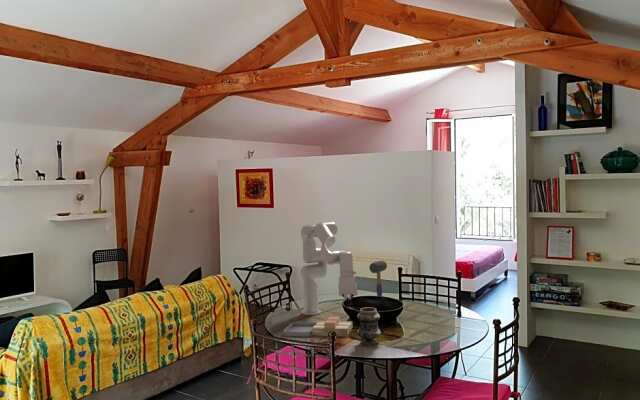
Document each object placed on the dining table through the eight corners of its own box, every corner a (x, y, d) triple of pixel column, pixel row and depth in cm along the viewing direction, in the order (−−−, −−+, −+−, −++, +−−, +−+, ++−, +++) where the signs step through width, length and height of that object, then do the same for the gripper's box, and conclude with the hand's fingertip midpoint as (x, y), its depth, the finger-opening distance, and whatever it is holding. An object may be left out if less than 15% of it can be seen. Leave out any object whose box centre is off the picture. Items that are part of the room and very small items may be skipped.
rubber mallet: (379, 308, 335) (377, 263, 334) (370, 306, 339) (368, 262, 338) (389, 303, 344) (387, 260, 343) (380, 302, 349) (378, 259, 348)
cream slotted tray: (319, 327, 296) (318, 320, 296) (352, 328, 291) (352, 321, 291) (312, 335, 282) (311, 328, 282) (347, 336, 277) (347, 329, 277)
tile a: (330, 321, 294) (329, 316, 293) (340, 321, 292) (339, 316, 292) (327, 324, 288) (327, 319, 288) (337, 324, 286) (337, 319, 286)
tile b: (327, 325, 287) (326, 319, 287) (337, 325, 285) (337, 320, 285) (324, 328, 281) (324, 322, 281) (335, 328, 279) (334, 323, 279)
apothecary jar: (378, 347, 255) (376, 312, 255) (355, 346, 259) (353, 311, 259) (383, 340, 267) (381, 306, 266) (361, 339, 271) (359, 305, 270)
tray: (293, 326, 303) (293, 321, 303) (319, 326, 299) (318, 322, 299) (282, 335, 284) (282, 331, 284) (310, 336, 280) (309, 332, 280)
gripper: (360, 272, 288) (362, 304, 288) (335, 272, 292) (337, 304, 292) (358, 274, 281) (360, 307, 281) (332, 275, 285) (334, 307, 285)
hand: (348, 305), depth 287 cm, fingers closed
